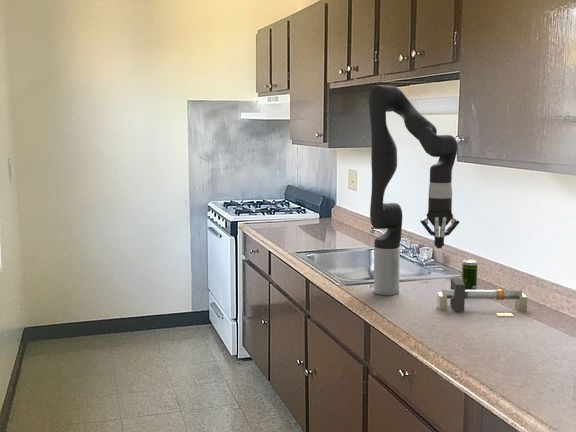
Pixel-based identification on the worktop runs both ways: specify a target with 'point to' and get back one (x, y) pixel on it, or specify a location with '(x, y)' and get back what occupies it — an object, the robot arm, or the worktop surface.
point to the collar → (458, 294)
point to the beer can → (469, 274)
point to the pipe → (486, 294)
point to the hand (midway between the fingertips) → (438, 247)
